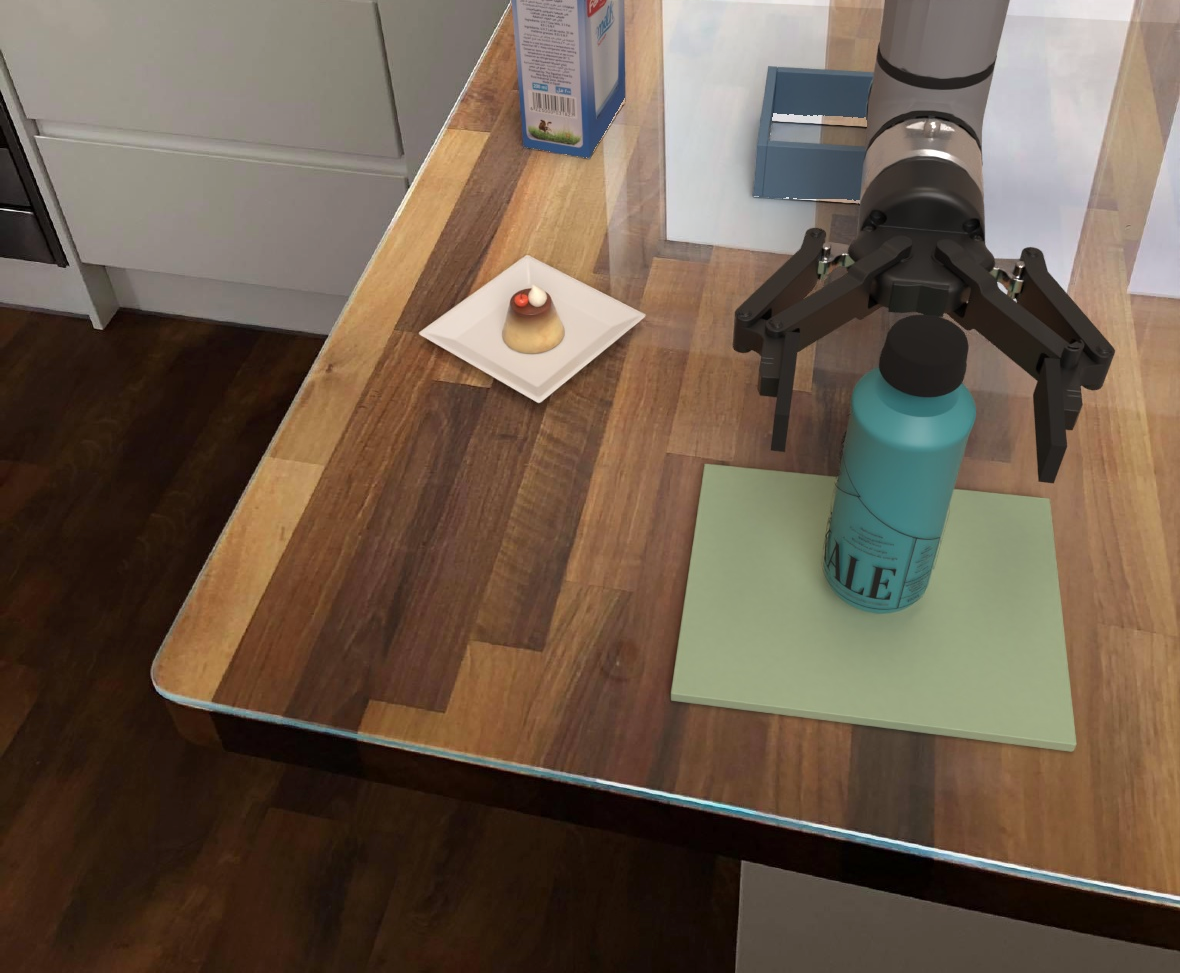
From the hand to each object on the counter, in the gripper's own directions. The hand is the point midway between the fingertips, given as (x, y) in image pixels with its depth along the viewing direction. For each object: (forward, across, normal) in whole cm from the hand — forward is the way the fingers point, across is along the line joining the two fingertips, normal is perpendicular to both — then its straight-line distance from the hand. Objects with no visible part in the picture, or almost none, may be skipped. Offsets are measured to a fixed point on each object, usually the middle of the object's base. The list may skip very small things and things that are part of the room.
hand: (913, 449), depth 62 cm
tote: (-48, -6, +14) cm, 51 cm away
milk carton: (-51, -29, +14) cm, 60 cm away
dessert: (-22, -26, +14) cm, 37 cm away
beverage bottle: (-1, 0, +14) cm, 14 cm away
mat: (-1, 0, +14) cm, 14 cm away
